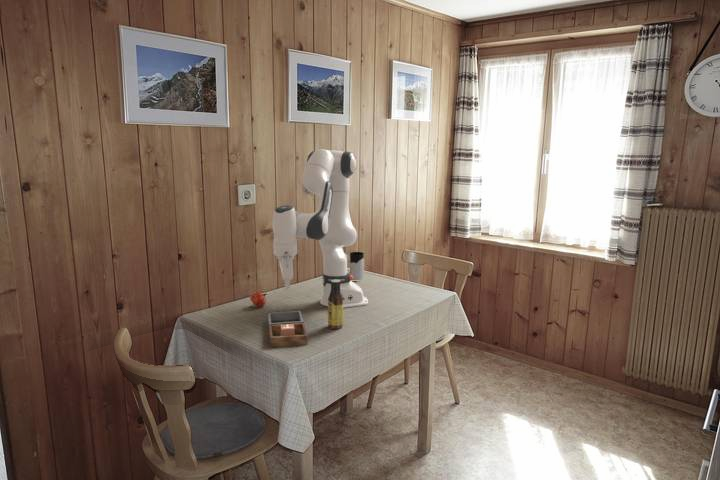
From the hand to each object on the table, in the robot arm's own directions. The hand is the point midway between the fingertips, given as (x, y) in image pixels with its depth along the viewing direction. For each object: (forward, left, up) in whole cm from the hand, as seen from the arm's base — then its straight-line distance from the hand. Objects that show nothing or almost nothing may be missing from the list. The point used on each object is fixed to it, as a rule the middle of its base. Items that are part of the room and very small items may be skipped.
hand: (286, 285), depth 191 cm
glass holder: (-41, -80, -21) cm, 92 cm away
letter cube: (0, +1, -21) cm, 21 cm away
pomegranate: (+11, -40, -21) cm, 47 cm away
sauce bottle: (-20, -8, -21) cm, 30 cm away
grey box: (0, -14, -21) cm, 25 cm away
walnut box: (0, +1, -21) cm, 21 cm away
